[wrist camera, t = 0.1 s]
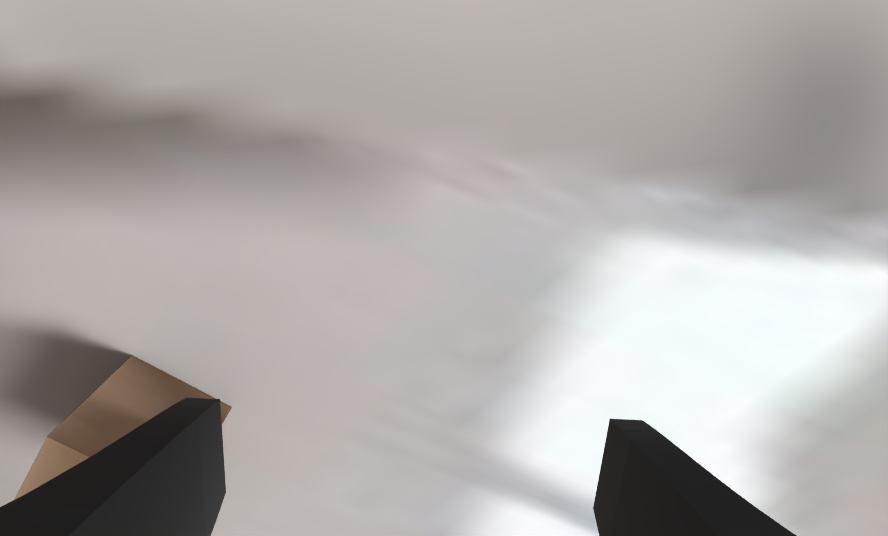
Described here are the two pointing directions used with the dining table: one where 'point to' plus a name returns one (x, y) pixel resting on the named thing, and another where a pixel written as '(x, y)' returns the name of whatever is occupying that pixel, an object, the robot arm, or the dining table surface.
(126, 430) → the walnut brick
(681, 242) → the dining table surface
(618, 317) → the dining table surface
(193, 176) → the dining table surface
